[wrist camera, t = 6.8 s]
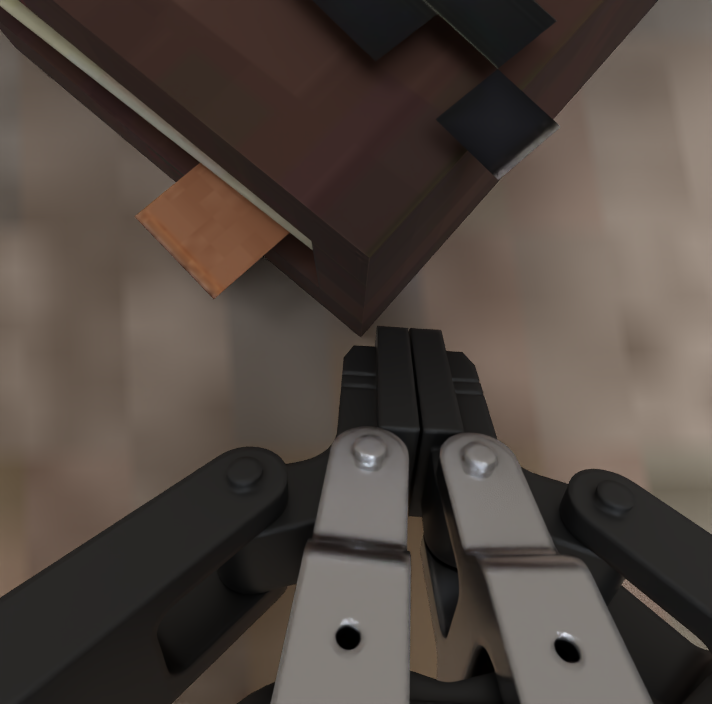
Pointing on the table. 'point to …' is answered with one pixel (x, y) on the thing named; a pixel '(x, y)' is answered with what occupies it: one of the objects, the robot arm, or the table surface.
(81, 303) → the table surface
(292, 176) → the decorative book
